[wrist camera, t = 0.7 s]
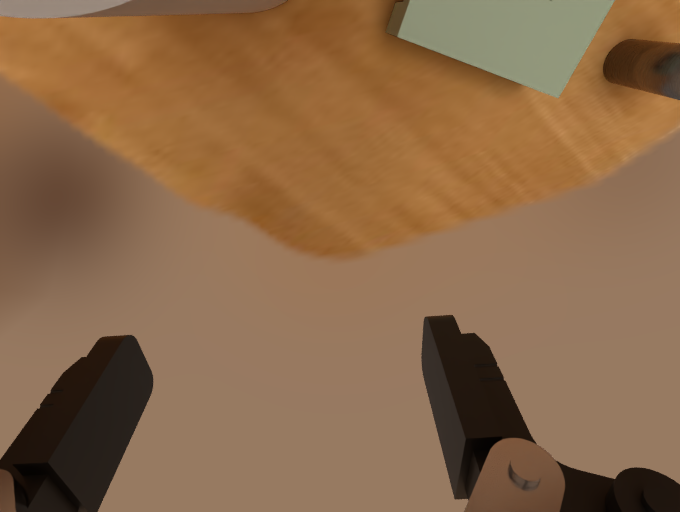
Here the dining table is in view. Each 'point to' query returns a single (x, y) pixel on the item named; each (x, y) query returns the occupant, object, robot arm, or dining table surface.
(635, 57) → the long pin
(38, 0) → the cylinder vase
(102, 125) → the dining table surface
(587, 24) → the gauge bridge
